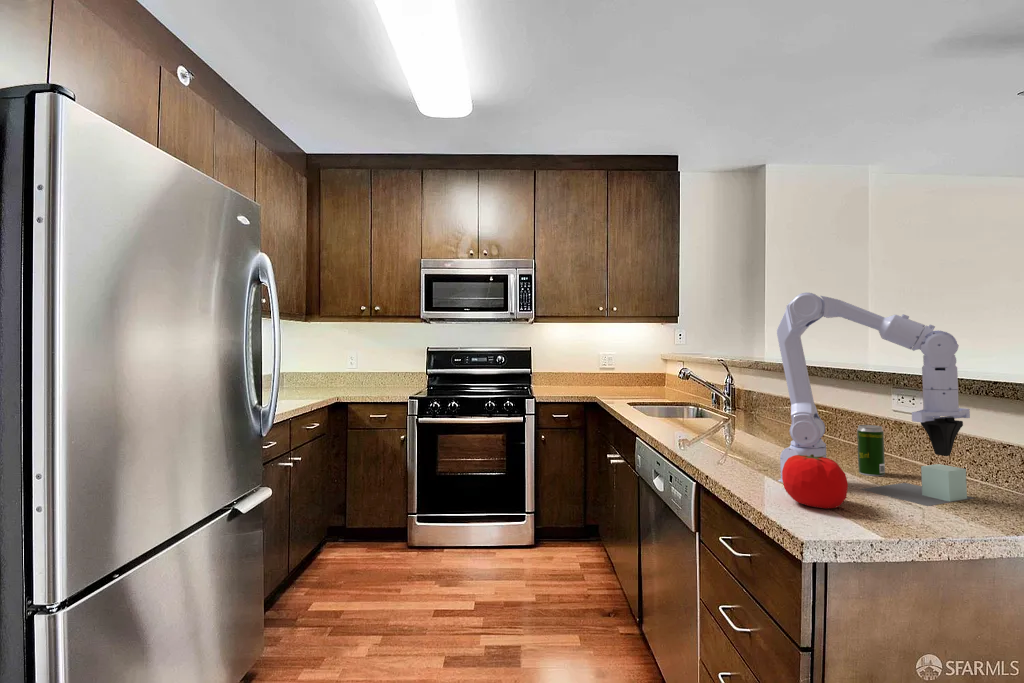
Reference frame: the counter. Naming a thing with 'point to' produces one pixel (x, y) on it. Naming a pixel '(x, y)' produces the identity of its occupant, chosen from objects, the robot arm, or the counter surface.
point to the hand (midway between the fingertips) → (942, 455)
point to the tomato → (814, 481)
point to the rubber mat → (908, 494)
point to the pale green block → (944, 482)
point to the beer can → (871, 450)
